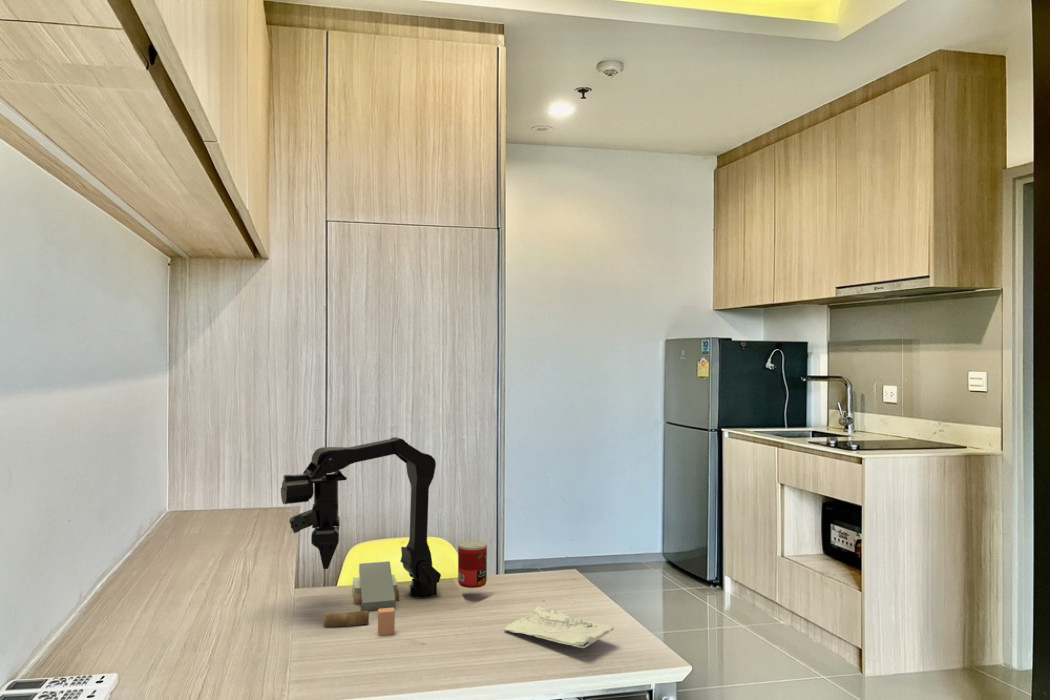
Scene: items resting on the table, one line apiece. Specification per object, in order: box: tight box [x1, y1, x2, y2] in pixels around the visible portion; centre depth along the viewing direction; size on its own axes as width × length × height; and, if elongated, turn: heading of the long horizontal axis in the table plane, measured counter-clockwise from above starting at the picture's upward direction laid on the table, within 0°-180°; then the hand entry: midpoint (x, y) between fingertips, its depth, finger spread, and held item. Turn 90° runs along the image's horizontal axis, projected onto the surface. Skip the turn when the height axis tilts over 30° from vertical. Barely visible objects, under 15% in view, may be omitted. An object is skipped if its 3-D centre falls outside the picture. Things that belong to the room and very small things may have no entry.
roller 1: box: [323, 610, 370, 628], centre depth 165 cm, size 10×3×3 cm, turn 106°
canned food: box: [457, 540, 488, 589], centre depth 196 cm, size 8×8×11 cm
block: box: [352, 574, 399, 595], centre depth 188 cm, size 11×9×3 cm
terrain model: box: [503, 606, 615, 649], centre depth 163 cm, size 17×23×5 cm
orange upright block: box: [377, 607, 396, 637], centre depth 161 cm, size 4×2×5 cm
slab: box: [358, 560, 396, 612], centre depth 182 cm, size 8×16×2 cm, turn 16°
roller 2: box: [353, 590, 400, 605], centre depth 182 cm, size 11×3×3 cm
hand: (326, 563), depth 174 cm, fingers open, 9 cm apart
